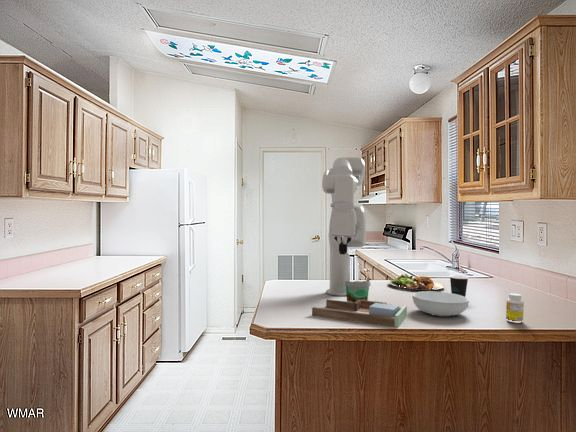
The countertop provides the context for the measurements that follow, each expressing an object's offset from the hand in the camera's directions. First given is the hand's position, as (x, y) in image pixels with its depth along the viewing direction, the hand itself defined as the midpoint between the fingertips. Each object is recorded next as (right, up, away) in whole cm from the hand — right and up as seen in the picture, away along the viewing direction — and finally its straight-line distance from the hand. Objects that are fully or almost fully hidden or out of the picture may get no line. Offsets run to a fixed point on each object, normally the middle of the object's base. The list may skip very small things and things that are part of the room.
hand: (342, 254), depth 166 cm
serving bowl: (+38, -24, +2) cm, 45 cm away
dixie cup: (+54, -23, +24) cm, 64 cm away
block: (+14, -24, -9) cm, 29 cm away
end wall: (+20, -24, -10) cm, 32 cm away
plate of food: (+45, -23, +57) cm, 76 cm away
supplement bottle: (+62, -24, -9) cm, 67 cm away
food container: (+9, -23, +16) cm, 30 cm away
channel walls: (+7, -23, 0) cm, 24 cm away
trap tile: (+11, -23, +5) cm, 26 cm away
